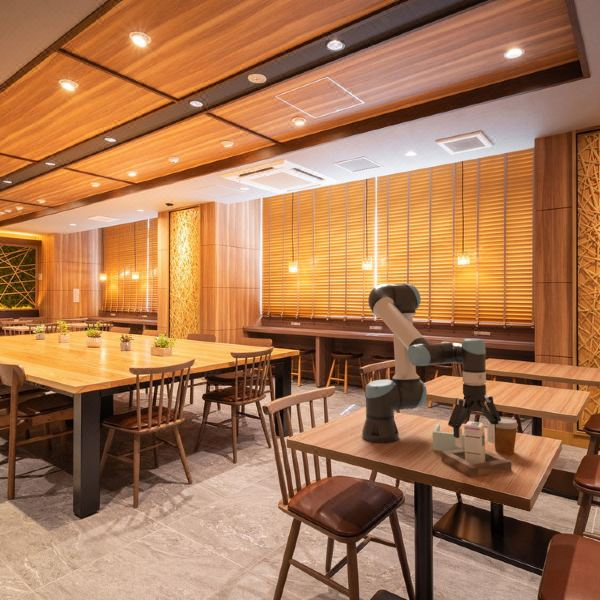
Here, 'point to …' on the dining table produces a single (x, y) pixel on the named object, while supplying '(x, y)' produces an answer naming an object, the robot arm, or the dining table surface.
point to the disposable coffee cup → (505, 435)
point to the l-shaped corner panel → (445, 440)
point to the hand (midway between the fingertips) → (475, 444)
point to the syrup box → (474, 442)
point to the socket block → (489, 467)
